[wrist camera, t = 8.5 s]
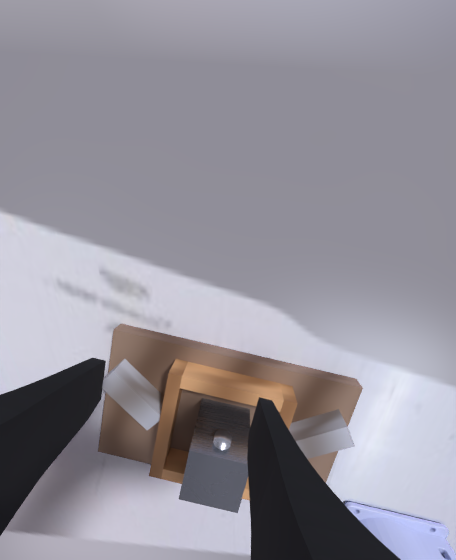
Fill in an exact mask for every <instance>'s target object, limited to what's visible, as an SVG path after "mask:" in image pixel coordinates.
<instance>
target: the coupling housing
mask: <svg viewBox="0 0 456 560" xmlns="http://www.w3.org/2000/svg"><path fill="white" fill-rule="evenodd" d="M102 389H103V390H104V391H105V392H106V394H105V402H104V409H103V417H102V425H101V433H100V440H99V448H98V451H99V452H103V453H107V454H111V455H115V456H119V457H123V458H128V459H132V460H136V461H140V462H144V463H148V464H151V468H150V473H149V476H151V477H156V478H160V479H164V480H168V481H172V482H176V483H180V484H182V482H183V477H184V473H185V468H186V464H187V459H188V454H189V450H190V446H191V442H192V437H193V433H194V429H195V425H196V421H197V417H198V413H199V409H200V404H201V400H202V398H205V399H209V400H214V401H218V402H222V403H227V404H231V405H235V406H240V407H244V408H248V409H250V427H251V423H252V420H253V416H254V413H255V409H256V406H257V402H258V399H259V397H260V398H264V399H269V400H272V401H273V403H274V404H275V406H276V408H277V410H278V412H279V414H280V415H281V417H282V419H283V421H284V423H285V424H286V426H287V428H288V430H289V431H290V433H291V435H292V436H293V438H294V439H295V441H296V443H297V444H298V446H299V447H300V449H301V450H302V452H303V453H304V455H305V456H306V458H307V459H308V461H309V462H310V463H311V465H312V466H313V468H314V469H315V470H316V471H317V473H318V474H319V475H320V477H321V478H322V479H323V480H324V482H325V483H326V481H327V478H328V476H329V473H330V470H331V468H332V465H333V463H334V460H335V458H336V455H337V453H338V451H339V450H342V449H346V448H350V447H353V446H355V445H354V443H353V440H352V437H351V435H350V432H349V429H348V424H349V422H350V419H351V417H352V414H353V412H354V409H355V407H356V404H357V401H358V399H359V396H360V394H361V391H362V389H363V388H362V386H361V385H360V384H359V382H358V381H357V379H354V378H350V377H346V376H342V375H337V374H333V373H329V372H325V371H320V370H316V369H312V368H308V367H303V366H299V365H295V364H291V363H286V362H282V361H278V360H274V359H269V358H265V357H261V356H256V355H252V354H248V353H244V352H239V351H235V350H231V349H227V348H222V347H218V346H214V345H210V344H205V343H201V342H197V341H193V340H188V339H184V338H180V337H176V336H171V335H167V334H163V333H159V332H154V331H150V330H146V329H141V328H137V327H133V326H129V325H124V324H120V325H119V326H118V327H116V328H115V329H114V332H113V340H112V347H111V355H110V363H109V371H108V374H107V376H106V377H105V378H104V379H103V386H102ZM242 499H246V500H250V497H249V481H248V479H247V482H246V486H245V489H244V493H243V496H242Z"/></svg>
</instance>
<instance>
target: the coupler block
mask: <svg viewBox="0 0 456 560" xmlns="http://www.w3.org/2000/svg"><path fill="white" fill-rule="evenodd" d="M249 430H250V409H248V408H244V407H240V406H235V405H231V404H227V403H222V402H218V401H214V400H209V399H205V398H202V400H201V404H200V409H199V413H198V417H197V421H196V425H195V429H194V433H193V437H192V442H191V446H190V450H189V454H188V459H187V464H186V468H185V473H184V477H183V482H182V487H181V491H180V496H179V499H180V500H185V501H189V502H193V503H197V504H202V505H206V506H210V507H214V508H219V509H223V510H227V511H231V512H235V513H238V510H239V506H240V503H241V500H242V496H243V493H244V489H245V486H246V482H247V479H248V463H247V452H248V434H249Z"/></svg>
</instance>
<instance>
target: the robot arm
mask: <svg viewBox="0 0 456 560" xmlns="http://www.w3.org/2000/svg"><path fill="white" fill-rule="evenodd" d="M105 362H106V361H104V360H100V359H96V358H91V359H88V360H86V361H84V362H81V363H79V364H77V365H74V366H72V367H70V368H68V369H65V370H63V371H61V372H58V373H56V374H54V375H51V376H49V377H47V378H44V379H42V380H39V381H36V382H34V383H31V384H29V385H26V386H24V387H21V388H18V389H16V390H13V391H10V392H7V393H4V394H1V395H0V535H1V534H2V533H3V531H4V530H5V528H6V527H7V525H8V524H9V522H10V521H11V519H12V518H13V516H14V515H15V513H16V512H17V510H18V509H19V507H20V506H21V504H22V503H23V502H24V500H25V499H26V497H27V496H28V494H29V493H30V492H31V490H32V489H33V487H34V486H35V484H36V483H37V482H38V480H39V479H40V478H41V476H42V475H43V474H44V472H45V471H46V470H47V469H48V467H49V466H50V465H51V464H52V463H53V461H54V460H55V459H56V458H57V457H58V455H59V454H60V453H61V452H62V450H63V449H64V448H65V447H66V446H67V444H68V443H69V442H70V441H71V440H72V438H73V437H74V436H75V435H76V433H77V432H78V431H79V430H80V428H81V427H82V426H83V425H84V424H85V422H86V421H87V420H88V418H89V417H90V415H91V414H92V412H93V411H94V409H95V407H96V406H97V404H98V403H99V401H100V399H101V394H102V386H103V378H104V370H105ZM247 463H248V481H249V497H250V513H251V560H456V553H455V552H454V550H453V549H452V547H451V546H450V544H449V543H448V541H447V539H446V537H447V536H448V534H449V530H448V529H447V527H446V526H445V525H443V524H440V523H436V522H432V521H428V520H423V519H419V518H415V517H411V516H407V515H403V514H399V513H394V512H390V511H386V510H382V509H378V508H374V507H370V506H365V505H361V504H357V503H353V502H347V503H346V504H345V505H344V504H343V503H342V501H341V500H340V499H339V498H338V497H337V496H336V495H335V494H334V493H333V491H332V490H331V489H330V488H329V487H328V485H327V484H326V483H325V482H324V480H323V479H322V478H321V477H320V475H319V474H318V473H317V471H316V470H315V469H314V468H313V466H312V465H311V463H310V462H309V461H308V459H307V458H306V456H305V455H304V453H303V452H302V450H301V449H300V447H299V446H298V444H297V443H296V441H295V439H294V438H293V436H292V435H291V433H290V431H289V430H288V428H287V426H286V424H285V423H284V421H283V419H282V417H281V415H280V414H279V412H278V410H277V408H276V406H275V404H274V403H273V401H272V400H269V399H264V398H260V397H259V399H258V402H257V406H256V409H255V413H254V416H253V420H252V423H251V427H250V430H249V434H248V452H247Z"/></svg>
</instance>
